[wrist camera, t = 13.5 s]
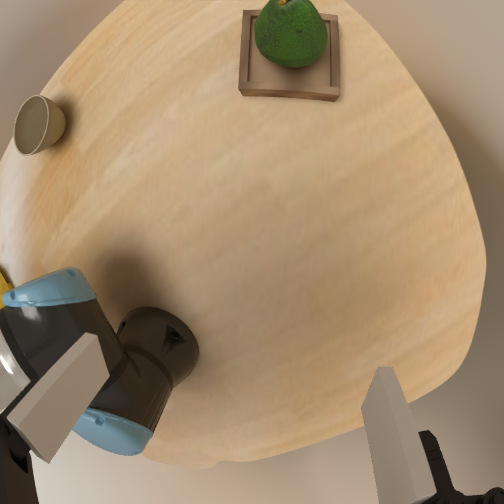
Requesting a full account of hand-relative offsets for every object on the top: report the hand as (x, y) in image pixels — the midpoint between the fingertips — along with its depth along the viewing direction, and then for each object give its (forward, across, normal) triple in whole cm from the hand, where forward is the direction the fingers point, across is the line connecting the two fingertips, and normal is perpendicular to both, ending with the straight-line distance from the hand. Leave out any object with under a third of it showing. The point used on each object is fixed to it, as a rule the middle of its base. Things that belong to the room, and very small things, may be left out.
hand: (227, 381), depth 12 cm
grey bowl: (+29, -37, +17) cm, 50 cm away
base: (+29, +2, +24) cm, 37 cm away
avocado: (+26, +2, +24) cm, 35 cm away
